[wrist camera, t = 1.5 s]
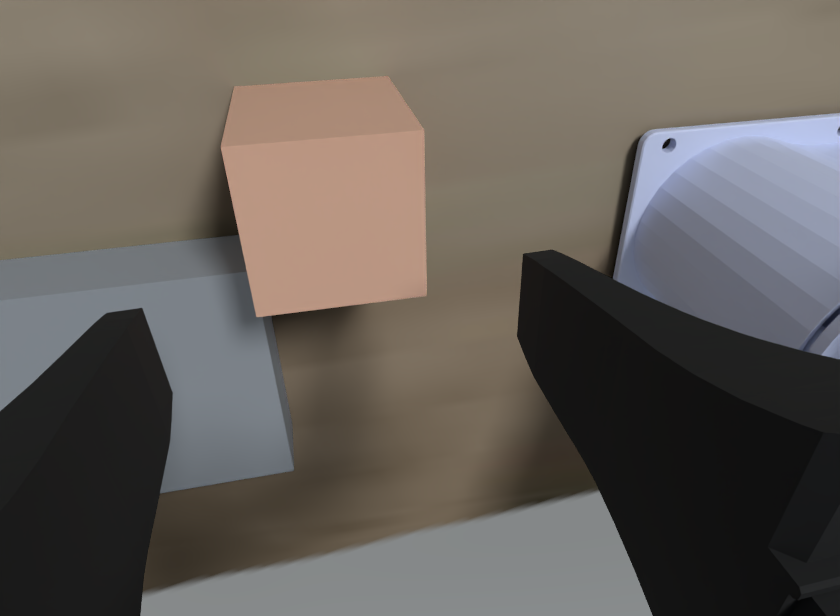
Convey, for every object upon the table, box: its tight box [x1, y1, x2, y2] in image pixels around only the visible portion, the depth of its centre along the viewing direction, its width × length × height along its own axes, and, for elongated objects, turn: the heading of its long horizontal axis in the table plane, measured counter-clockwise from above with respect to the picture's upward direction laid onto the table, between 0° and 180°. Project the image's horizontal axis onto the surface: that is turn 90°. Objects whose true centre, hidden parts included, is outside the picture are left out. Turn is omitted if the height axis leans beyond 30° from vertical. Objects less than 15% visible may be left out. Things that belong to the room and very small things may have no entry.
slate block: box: [0, 235, 294, 493], centre depth 21 cm, size 9×9×3 cm
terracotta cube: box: [221, 76, 427, 317], centre depth 17 cm, size 5×5×6 cm
